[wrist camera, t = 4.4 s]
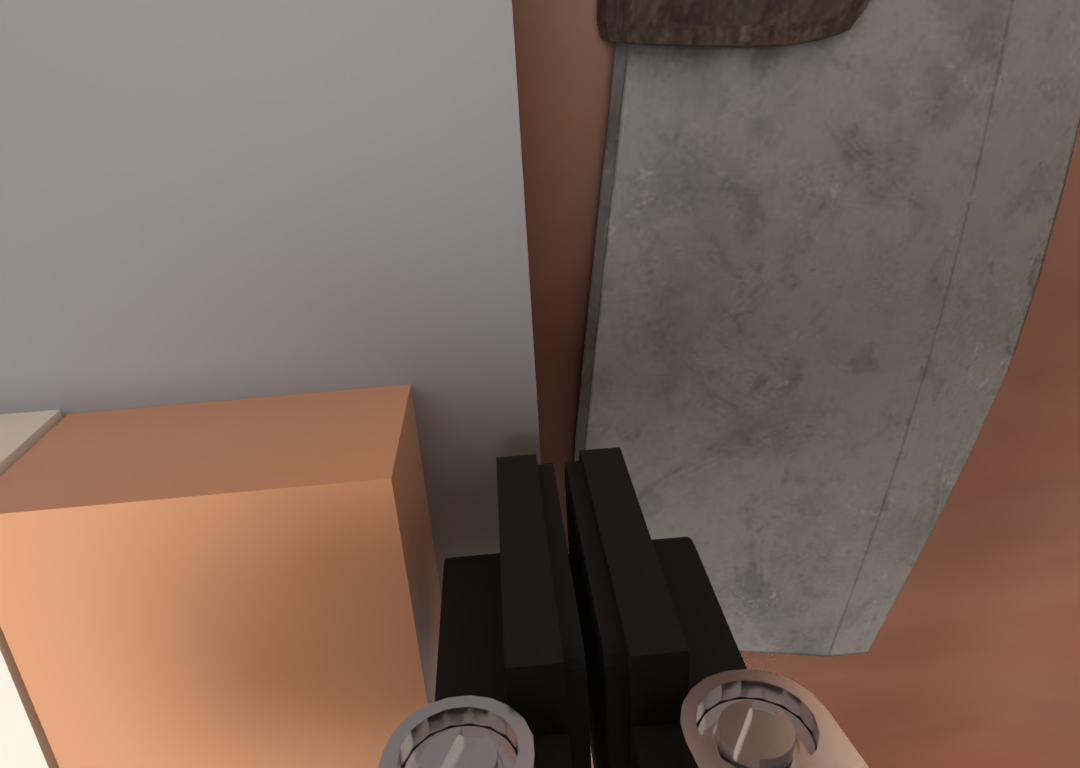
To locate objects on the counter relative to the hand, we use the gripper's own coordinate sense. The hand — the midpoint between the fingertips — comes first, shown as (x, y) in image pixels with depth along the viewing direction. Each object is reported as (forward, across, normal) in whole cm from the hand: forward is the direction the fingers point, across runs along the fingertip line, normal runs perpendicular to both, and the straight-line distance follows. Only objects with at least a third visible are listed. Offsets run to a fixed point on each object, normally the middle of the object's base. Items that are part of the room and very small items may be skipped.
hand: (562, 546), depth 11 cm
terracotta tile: (+1, +4, 0) cm, 4 cm away
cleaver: (+7, -6, -6) cm, 11 cm away
